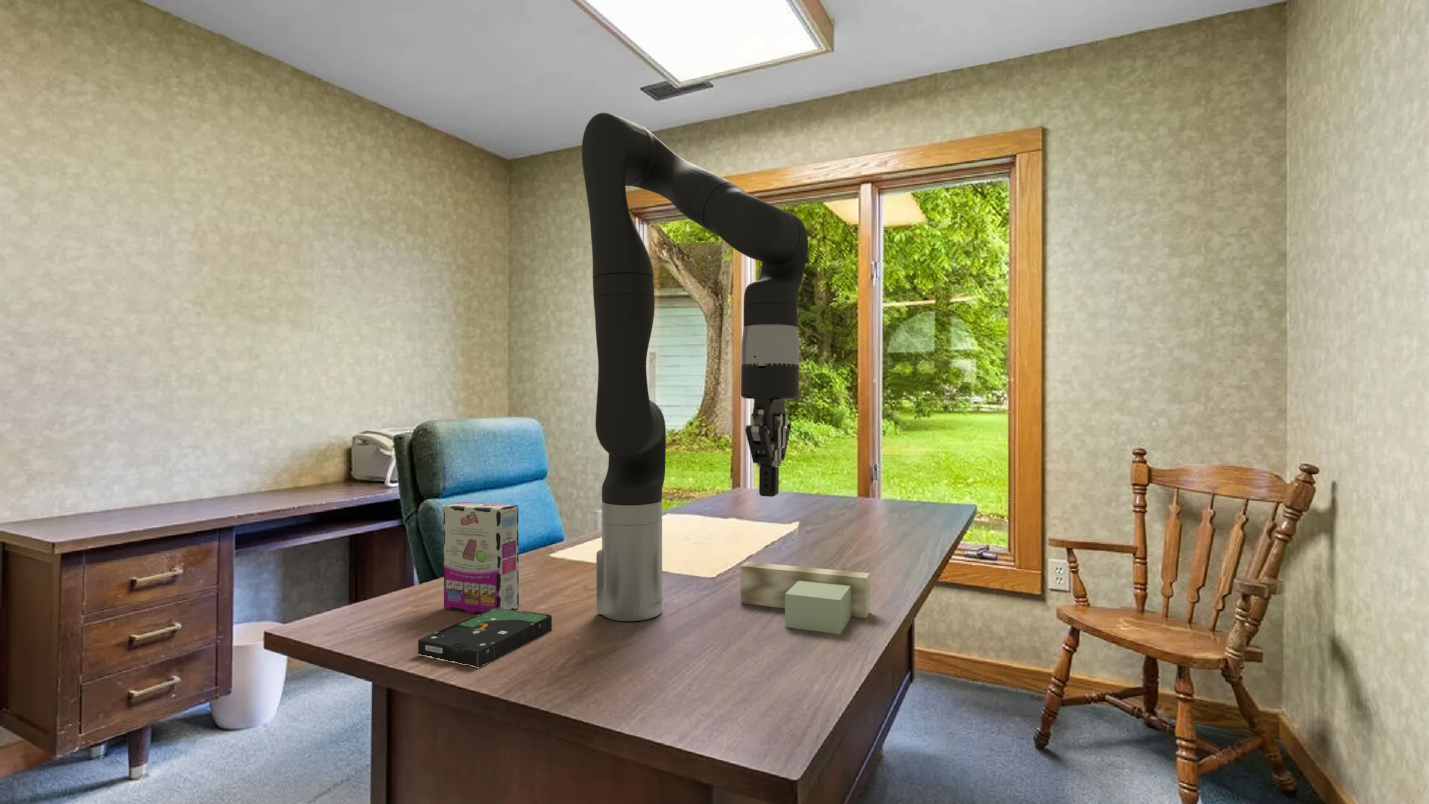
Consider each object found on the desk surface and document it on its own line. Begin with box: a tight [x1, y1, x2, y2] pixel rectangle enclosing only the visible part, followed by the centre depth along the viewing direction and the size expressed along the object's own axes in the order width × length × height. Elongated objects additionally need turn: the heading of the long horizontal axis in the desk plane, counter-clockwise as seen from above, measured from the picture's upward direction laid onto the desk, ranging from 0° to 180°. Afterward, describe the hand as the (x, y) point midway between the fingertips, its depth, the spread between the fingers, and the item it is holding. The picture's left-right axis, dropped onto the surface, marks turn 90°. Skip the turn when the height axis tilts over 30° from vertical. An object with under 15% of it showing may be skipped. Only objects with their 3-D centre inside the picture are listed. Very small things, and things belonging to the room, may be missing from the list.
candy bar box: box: [443, 501, 520, 615], centre depth 104 cm, size 11×5×16 cm, turn 68°
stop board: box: [740, 561, 871, 619], centre depth 105 cm, size 20×3×6 cm, turn 68°
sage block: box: [784, 580, 852, 635], centre depth 98 cm, size 8×8×5 cm
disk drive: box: [417, 607, 553, 668], centre depth 90 cm, size 10×3×15 cm
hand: (768, 495), depth 86 cm, fingers closed
